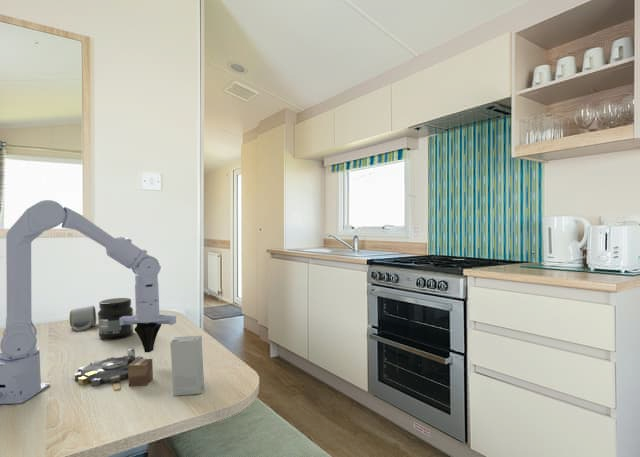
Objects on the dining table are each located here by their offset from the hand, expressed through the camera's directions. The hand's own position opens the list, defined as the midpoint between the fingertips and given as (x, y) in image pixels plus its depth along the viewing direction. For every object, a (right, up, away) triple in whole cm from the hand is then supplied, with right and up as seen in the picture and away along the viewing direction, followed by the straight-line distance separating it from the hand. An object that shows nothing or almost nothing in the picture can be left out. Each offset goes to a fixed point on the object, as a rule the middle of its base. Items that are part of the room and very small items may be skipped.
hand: (149, 351), depth 105 cm
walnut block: (+3, -4, -11) cm, 12 cm away
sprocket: (-7, -4, -4) cm, 9 cm away
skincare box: (+16, -4, -17) cm, 24 cm away
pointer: (-2, -4, -14) cm, 14 cm away
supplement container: (-23, -4, +28) cm, 37 cm away
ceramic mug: (-41, -4, +40) cm, 57 cm away
